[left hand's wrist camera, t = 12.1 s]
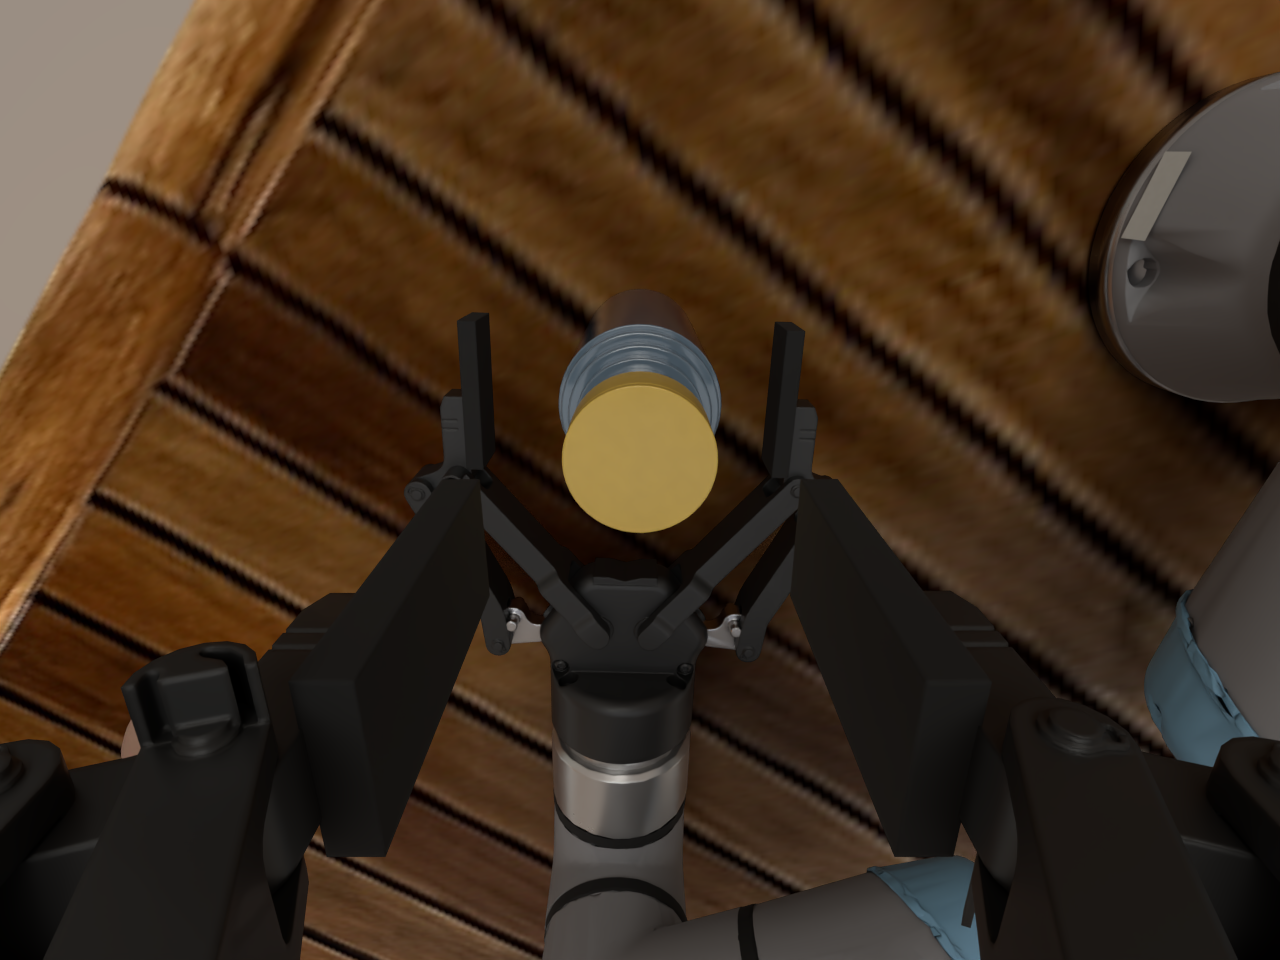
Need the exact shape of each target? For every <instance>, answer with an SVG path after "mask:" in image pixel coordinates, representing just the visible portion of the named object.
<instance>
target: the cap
mask: <svg viewBox="0 0 1280 960" xmlns="http://www.w3.org/2000/svg"><path fill="white" fill-rule="evenodd" d="M717 467H718V450H717V444H716V440H715V437H714V434H713V431H712V428H711V425H710V422H709V419H708V417H707V414H706V412H705V410H704V408H703V406H702V405H701V403H700V402H699V400H698V399H697V398H696V397H695V395H694V394H693V393H692V392H691V391H690V390H689V389H687V388H686V387H685V386H684V385H682V384H681V383H679V382H678V381H676V380H674V379H672V378H670V377H668V376H664V375H661V374H658V373H653V372H644V371H636V372H627V373H622V374H618V375H616V376H613V377H610V378H608V379H606V380H604V381H602V382H601V383H599V384H598V385H596V386H595V387H594V388H593V389H591V390H590V391H589V392H588V393H587V394H586V395H585V396H584V398H583V399H582V400H581V401H580V403H579V405H578V406H577V408H576V410H575V412H574V414H573V416H572V419H571V422H570V425H569V428H568V431H567V434H566V437H565V440H564V444H563V450H562V468H563V474H564V478H565V481H566V484H567V486H568V489H569V491H570V493H571V494H572V496H573V498H574V499H575V501H576V502H577V503H578V504H579V506H580V507H581V508H582V509H583V510H584V511H585V512H586V513H587V514H589V515H590V516H591V517H593V518H594V519H595V520H597V521H599V522H600V523H602V524H604V525H606V526H609V527H611V528H614V529H617V530H621V531H626V532H634V533H646V532H654V531H659V530H663V529H666V528H669V527H671V526H674V525H676V524H678V523H680V522H681V521H683V520H685V519H686V518H688V517H689V516H690V515H691V514H693V513H694V512H695V511H696V510H697V509H698V508H699V507H700V506H701V504H702V503H703V502H704V500H705V499H706V498H707V496H708V494H709V492H710V491H711V489H712V486H713V484H714V481H715V478H716V473H717Z"/></svg>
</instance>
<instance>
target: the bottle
mask: <svg viewBox="0 0 1280 960" xmlns="http://www.w3.org/2000/svg"><path fill="white" fill-rule="evenodd" d="M636 371H644V372H653V373H658V374H661V375H664V376H668V377H670V378H672V379H674V380H676V381H678V382H679V383H681V384H682V385H684V386H685V387H686V388H687V389H689V390H690V391H691V392H692V393H693V394H694V395H695V397H696V398H697V399H698V400H699V402H700V403H701V405H702V406H703V408H704V410H705V412H706V414H707V417H708V419H709V422H710V425H711V428H712V431H713V434H714V435H715V432H716V430H717V427H718V424H719V419H720V414H721V392H720V387H719V383H718V379H717V376H716V374H715V372H714V370H713V367H712V365H711V363H710V361H709V359H708V357H707V355H706V353H705V351H704V349H703V347H702V345H701V343H700V341H699V339H698V337H697V335H696V333H695V331H694V329H693V327H692V325H691V322H690V320H689V318H688V317H687V315H686V314H685V312H684V311H683V309H682V308H681V307H680V306H679V305H678V304H677V303H676V302H675V301H673V300H672V299H671V298H669V297H668V296H666V295H664V294H661V293H659V292H656V291H652V290H647V289H634V290H628V291H624V292H621V293H619V294H616V295H615V296H613V297H611V298H609V299H608V300H607V301H605V302H604V303H603V304H602V305H601V306H600V307H599V308H598V309H597V311H596V312H595V313H594V315H593V317H592V318H591V320H590V322H589V324H588V326H587V328H586V330H585V333H584V335H583V337H582V339H581V341H580V343H579V345H578V347H577V349H576V351H575V353H574V355H573V357H572V359H571V361H570V363H569V365H568V367H567V369H566V372H565V374H564V376H563V379H562V383H561V386H560V392H559V414H560V420H561V424H562V427H563V430H564V432H565V435H566V434H567V431H568V428H569V425H570V422H571V419H572V416H573V414H574V412H575V410H576V408H577V406H578V405H579V403H580V401H581V400H582V399H583V398H584V396H585V395H586V394H587V393H588V392H589V391H590V390H591V389H593V388H594V387H595V386H596V385H598V384H599V383H601V382H602V381H604V380H606V379H608V378H610V377H613V376H616V375H618V374H622V373H627V372H636Z"/></svg>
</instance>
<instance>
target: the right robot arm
mask: <svg viewBox="0 0 1280 960" xmlns="http://www.w3.org/2000/svg"><path fill="white" fill-rule="evenodd" d="M457 328H458V344H459V360H460V375H461V389H452V390H451V391H449V392H448V393H447V394H446V395H445V396H444V398H443V401H442V404H441V407H440V411H441V424H442V437H443V450H444V462H441V463H438V464H435V465H434V464H428V465H425V466H424V467H423V468H422V469H421V470H420V471H419V472H418V473H417V474H416V476H415V477H414V478H413V479H412V480H411V481H410V482H409V484H408V485H407V486H406V488H405V490H404V495H405V498H406V500H407V502H408V503H409V505H410V506H411V508H412V509H413V511H414V513H415V514H416V513H417V512H418V511H419V509H420V508H421V507H422V505H423V504H424V503H425V501H426V500H427V499H428V497H429V496H430V495H431V493H432V492H433V491H434V490H435V488H436V487H437V486H438V484H439V483H440V482H441V480H442V479H479V481H480V492H481V503H482V514H483V525H484V529H485V530H486V531H487V532H488V533H489V534H490V535H491V536H492V537H493V538H494V540H495V541H496V542H497V543H498V544H499V545H500V546H501V547H502V548H503V549H504V550H505V551H506V552H507V553H508V554H509V555H510V556H511V557H512V558H513V559H514V560H515V561H516V562H517V563H518V564H519V565H520V566H521V567H522V569H523V570H524V571H525V572H526V573H527V574H528V575H529V576H530V577H531V578H532V579H533V580H534V581H535V582H536V584H537V586H538V589H539V591H540V593H541V595H542V596H543V597H544V598H545V599H546V600H547V601H548V602H549V603H550V605H549V607H548V608H547V609H546V610H545V612H544V614H543V615H537V614H534V613H532V612H531V611H530V610H529V608H528V606H527V604H526V603H525V601H524V599H523V598H521V597H516V598H515V597H514V593H513V589H512V587H511V584H510V582H509V580H508V578H507V576H506V575H505V573H504V571H503V570H502V568H501V566H500V565H499V563H498V561H497V560H496V558H495V556H494V555H493V553H492V551H491V550H490V548H489V546H488V545H487V543H486V541H485V548H486V559H487V570H488V581H489V592H490V596H489V599H488V601H487V604H486V606H485V609H484V611H483V614H482V616H481V622H482V627H483V632H484V637H485V643H486V647H487V649H488V651H489V652H490V653H492V654H494V655H504V654H506V653H507V652H508V651H509V649H510V646H511V644H512V643H525V642H539V641H542V643H543V644H544V646H545V647H546V649H547V650H548V652H549V655H550V659H551V702H552V722H553V731H552V751H553V780H554V802H555V821H554V857H553V867H552V875H551V883H550V890H549V897H548V905H547V912H546V921H545V936H544V939H545V940H544V942H545V947H544V953H543V959H542V960H980V952H979V943H978V935H977V926H976V917H975V913H974V917H973V921H972V925H971V928H968V927H965V926H962V925H961V922H962V916H963V909H964V905H965V901H966V897H967V893H968V888H969V884H970V880H971V876H972V872H973V867H974V862H972V861H970V860H968V859H967V858H964V857H961V856H956V855H953V857H934V858H928V859H923V860H917V861H912V862H906V863H901V864H895V865H890V866H884V867H877V866H873V867H870V868H867V873H864V874H861V875H857V876H854V877H850V878H847V879H843V880H840V881H836V882H833V883H829V884H826V885H822V886H819V887H816V888H812V889H809V890H805V891H802V892H798V893H795V894H791V895H788V896H784V897H781V898H777V899H774V900H770V901H767V902H763V903H760V904H751V905H748V906H744V907H739V908H735V909H731V910H727V911H724V912H720V913H716V914H712V915H708V916H705V917H701V918H697V919H693V920H690V921H687V918H686V908H685V894H684V878H683V827H684V805H685V798H686V790H687V782H688V766H689V749H690V725H691V720H692V707H693V693H694V679H695V665H696V660H697V657H698V655H699V654H700V652H701V651H702V650H703V648H704V647H705V646H710V647H718V648H726V649H734V650H736V655H737V657H738V658H739V659H740V660H741V661H744V662H752V661H754V660H756V659H757V658H758V657H759V655H760V652H761V648H762V644H763V640H764V636H765V632H766V628H767V625H768V623H769V622H770V620H771V619H772V618H773V616H774V615H775V613H776V612H777V610H778V609H779V608H780V606H781V605H782V603H783V602H784V600H785V599H786V598H787V596H788V595H789V593H790V592H791V581H792V570H793V559H794V548H795V536H796V525H797V514H798V503H799V492H800V481H801V479H832V478H831V477H829V476H826V475H824V476H820V475H817V474H815V473H813V472H812V461H813V453H814V445H815V437H816V429H817V421H818V417H817V414H816V410H815V407H814V406H813V405H812V404H811V403H810V402H809V401H808V400H802V399H797V398H798V389H799V381H800V372H801V363H802V355H803V346H804V337H805V331H804V330H802V329H801V328H799V327H798V326H796V325H795V324H793V323H792V322H775V327H774V337H773V347H772V357H771V367H770V377H769V388H768V398H767V408H766V418H765V428H764V438H763V448H762V460H763V462H764V464H765V466H766V468H767V470H768V472H769V474H770V475H769V476H768V477H767V478H765V479H764V480H763V481H762V482H761V483H760V484H759V485H758V486H757V487H756V488H755V489H754V490H753V491H752V492H751V493H750V494H749V495H748V496H747V497H746V498H745V499H744V500H743V501H742V502H741V503H740V504H739V505H738V506H737V507H736V508H735V509H733V510H732V511H731V512H730V513H729V514H728V515H727V516H726V517H725V518H724V519H723V520H722V521H721V522H720V523H719V524H718V525H717V526H716V527H715V528H714V529H713V530H712V531H711V532H710V533H709V534H708V535H707V536H706V537H705V538H704V539H703V540H701V541H700V542H699V543H698V544H697V545H696V546H695V547H694V548H693V549H692V550H687V551H685V552H684V553H683V554H682V555H681V556H680V557H679V558H678V559H677V560H676V561H675V562H674V563H673V564H672V565H671V566H669V567H668V568H666V567H664V566H662V565H660V564H657V559H639V560H634V561H630V562H623V561H619V560H616V559H612V558H595V562H592V563H589V564H587V565H585V566H584V565H583V564H582V563H581V562H580V561H579V560H578V559H577V558H576V557H575V556H574V554H573V553H572V552H571V551H570V550H569V549H568V548H566V547H562V546H560V545H559V544H558V543H557V542H556V541H555V540H554V538H553V537H552V536H551V535H550V534H549V533H548V532H547V531H546V530H545V529H544V528H543V527H542V526H541V524H540V523H539V522H538V521H537V520H536V519H535V518H534V517H533V516H532V515H531V514H530V513H529V512H528V511H527V509H526V508H525V507H524V506H523V505H522V504H521V503H520V502H519V501H518V500H517V499H516V498H515V497H514V495H513V494H512V493H511V492H510V491H509V490H508V489H507V488H506V487H505V486H504V485H503V484H502V483H501V482H500V480H499V479H498V478H497V477H496V476H495V475H494V474H493V473H492V472H491V471H490V470H489V469H488V468H487V466H486V465H487V463H488V462H489V460H490V459H491V457H492V455H493V454H494V452H495V431H494V410H493V389H492V368H491V347H490V326H489V313H474V312H472V313H470V314H468V315H467V316H465V317H463V318H461V319H459V320H458V321H457ZM787 518H788V519H787ZM786 519H787V520H786ZM785 520H786V522H785V523H784V525H783V526H782V527H781V529H780V530H779V532H778V533H777V535H776V536H775V538H774V539H773V541H772V542H771V544H770V545H769V547H768V548H767V550H766V551H765V553H764V554H763V556H762V557H761V559H760V560H759V562H758V563H757V565H756V566H755V568H754V569H753V571H752V572H751V574H750V575H749V577H748V578H747V580H746V581H745V583H744V584H743V586H742V588H741V589H740V592H739V594H738V596H737V599H736V602H735V604H734V603H728V604H726V606H725V608H724V609H723V610H722V612H721V613H720V615H719V616H718V617H717V618H715V619H712V620H706V619H705V617H704V615H703V613H702V612H701V610H700V609H699V607H700V606H701V605H702V604H703V603H704V602H705V601H706V600H707V599H708V598H709V596H710V595H711V592H712V590H713V588H714V587H715V586H716V585H717V584H718V583H719V582H720V581H721V580H722V579H723V578H724V577H725V576H726V575H728V574H729V573H730V572H731V571H732V570H733V569H734V568H735V567H736V566H737V565H738V564H739V563H740V562H741V561H742V560H744V559H745V558H746V557H747V556H748V555H749V554H750V553H751V552H752V551H753V550H754V549H755V548H756V547H757V546H759V545H760V544H761V543H762V542H763V541H764V540H765V539H766V538H767V537H768V536H769V535H770V534H771V533H772V532H773V531H775V530H776V529H777V528H778V527H779V526H780V525H781V524H782V523H783V522H784V521H785Z"/></svg>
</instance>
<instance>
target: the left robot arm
mask: <svg viewBox="0 0 1280 960" xmlns="http://www.w3.org/2000/svg"><path fill="white" fill-rule="evenodd" d="M1088 289H1089V300H1090V306H1091V311H1092V316H1093V319H1094V322H1095V325H1096V328H1097V330H1098V333H1099V335H1100V337H1101V339H1102V341H1103V343H1104V344H1105V346H1106V347H1107V349H1108V351H1109V352H1110V353H1111V354H1112V356H1113V357H1114V358H1115V359H1116V361H1117V362H1118V363H1119V364H1120V365H1122V366H1123V367H1124V368H1125V369H1126V370H1127V371H1128V372H1130V373H1131V374H1132V375H1134V376H1135V377H1137V378H1139V379H1140V380H1142V381H1144V382H1146V383H1148V384H1150V385H1153V386H1155V387H1157V388H1160V389H1163V390H1166V391H1169V392H1173V393H1176V394H1179V395H1182V396H1185V397H1189V398H1192V399H1196V400H1202V401H1207V402H1220V403H1227V402H1243V401H1252V400H1261V399H1280V72H1277V73H1273V74H1269V75H1264V76H1260V77H1256V78H1252V79H1248V80H1245V81H1242V82H1240V83H1237V84H1234V85H1231V86H1229V87H1227V88H1225V89H1222V90H1220V91H1218V92H1216V93H1214V94H1212V95H1210V96H1209V97H1207V98H1205V99H1203V100H1201V101H1200V102H1198V103H1197V104H1195V105H1194V106H1192V107H1191V108H1189V109H1188V110H1186V111H1185V112H1183V113H1182V114H1181V115H1179V116H1178V117H1177V118H1176V119H1174V120H1173V121H1172V122H1170V123H1169V124H1168V125H1167V126H1166V127H1165V128H1164V129H1163V130H1162V131H1160V132H1159V133H1158V134H1157V135H1156V136H1155V137H1154V138H1153V139H1152V140H1151V141H1150V142H1149V144H1148V145H1147V146H1146V147H1145V148H1144V149H1143V150H1142V151H1141V152H1140V154H1139V155H1138V156H1137V157H1136V159H1135V160H1134V161H1133V162H1132V164H1131V165H1130V166H1129V168H1128V169H1127V171H1126V172H1125V174H1124V175H1123V177H1122V178H1121V180H1120V181H1119V183H1118V185H1117V186H1116V188H1115V190H1114V191H1113V193H1112V195H1111V197H1110V199H1109V201H1108V203H1107V205H1106V207H1105V209H1104V212H1103V214H1102V217H1101V220H1100V222H1099V225H1098V228H1097V231H1096V235H1095V238H1094V241H1093V246H1092V251H1091V256H1090V264H1089V275H1088ZM489 596H490V592H489V581H488V570H487V559H486V548H485V537H484V525H483V514H482V503H481V492H480V481H479V479H442V480H441V482H440V483H439V484H438V486H437V487H436V488H435V490H434V491H433V492H432V493H431V495H430V496H429V497H428V499H427V500H426V501H425V503H424V504H423V505H422V507H421V508H420V509H419V511H418V512H417V513H416V514H415V516H414V517H413V518H412V520H411V521H410V522H409V524H408V525H407V526H406V528H405V529H404V530H403V532H402V533H401V534H400V536H399V537H398V538H397V539H396V541H395V542H394V543H393V545H392V546H391V547H390V549H389V550H388V551H387V553H386V554H385V555H384V557H383V558H382V559H381V560H380V562H379V563H378V564H377V566H376V567H375V568H374V570H373V571H372V572H371V574H370V575H369V576H368V578H367V579H366V580H365V581H364V583H363V584H362V585H361V587H360V588H359V589H358V591H357V592H356V593H329V594H328V595H326V596H325V597H323V598H321V599H320V600H318V601H316V602H315V603H313V604H312V605H310V606H308V607H307V608H305V609H304V610H302V612H301V613H300V614H299V615H298V616H297V617H296V619H295V620H294V621H293V622H292V623H291V624H290V626H289V627H288V628H287V629H286V633H283V634H282V635H281V636H280V637H279V638H278V639H277V641H276V642H275V643H274V644H273V645H272V650H268V651H267V652H266V653H265V654H264V656H263V657H262V658H261V659H260V660H259V661H257V657H256V653H255V651H253V650H252V649H251V648H249V647H248V646H246V645H245V644H240V643H234V642H228V641H224V642H211V643H202V644H198V645H194V646H190V647H186V648H182V649H179V650H176V651H174V652H172V653H169V654H167V655H165V656H162V657H160V658H158V659H155V660H153V661H152V662H150V663H149V664H147V665H146V666H144V667H143V668H141V669H140V670H138V671H137V672H135V673H134V674H133V675H132V676H131V677H130V678H129V679H128V680H127V682H126V683H125V684H124V685H123V686H122V687H121V690H122V693H123V696H124V699H125V702H126V705H127V708H128V711H129V714H130V717H131V720H132V723H133V726H134V729H135V732H136V735H137V738H138V741H139V744H140V747H141V748H140V751H139V753H138V755H134V756H131V757H127V758H122V759H117V760H113V761H108V762H103V763H99V764H94V765H89V766H85V767H80V768H75V769H71V770H68V768H67V766H66V763H65V761H64V758H63V755H62V753H61V750H60V748H58V747H57V746H55V745H54V744H52V743H51V742H50V741H44V740H31V739H27V740H21V741H15V742H9V743H4V744H0V960H300V954H301V945H302V937H303V928H304V919H305V910H306V902H307V893H308V884H309V881H308V874H307V867H306V863H305V859H304V855H303V854H304V853H305V851H306V849H307V847H308V845H309V843H310V841H311V839H312V837H313V836H314V834H315V832H316V830H317V828H318V826H319V824H320V828H321V833H322V837H323V842H324V846H325V851H326V855H327V857H386V854H387V852H388V849H389V847H390V844H391V842H392V839H393V837H394V834H395V832H396V829H397V827H398V824H399V822H400V819H401V817H402V814H403V811H404V809H405V806H406V804H407V801H408V799H409V796H410V794H411V791H412V789H413V786H414V784H415V781H416V779H417V776H418V774H419V771H420V769H421V766H422V764H423V761H424V759H425V756H426V754H427V751H428V749H429V746H430V744H431V741H432V739H433V736H434V734H435V731H436V729H437V726H438V724H439V721H440V719H441V716H442V714H443V711H444V709H445V706H446V704H447V701H448V699H449V696H450V694H451V691H452V689H453V686H454V684H455V681H456V679H457V676H458V674H459V671H460V669H461V666H462V664H463V661H464V659H465V656H466V654H467V651H468V649H469V646H470V644H471V641H472V639H473V636H474V634H475V631H476V629H477V626H478V624H479V621H480V619H481V616H482V614H483V611H484V609H485V606H486V604H487V601H488V599H489ZM790 596H791V599H792V601H793V604H794V606H795V609H796V611H797V614H798V616H799V619H800V621H801V624H802V626H803V629H804V631H805V634H806V636H807V639H808V641H809V644H810V646H811V649H812V651H813V654H814V656H815V659H816V661H817V664H818V666H819V669H820V671H821V674H822V676H823V679H824V681H825V684H826V686H827V689H828V691H829V694H830V696H831V699H832V701H833V704H834V706H835V709H836V711H837V714H838V716H839V719H840V721H841V724H842V726H843V729H844V731H845V734H846V736H847V739H848V741H849V744H850V746H851V749H852V751H853V754H854V756H855V759H856V761H857V764H858V766H859V769H860V771H861V774H862V776H863V779H864V781H865V784H866V786H867V789H868V791H869V794H870V796H871V799H872V801H873V804H874V806H875V809H876V811H877V814H878V817H879V819H880V822H881V824H882V827H883V829H884V832H885V834H886V837H887V839H888V842H889V844H890V847H891V849H892V852H893V854H894V857H953V855H954V851H955V846H956V842H957V837H958V833H959V828H960V824H961V823H962V825H963V826H964V828H965V830H966V832H967V834H968V836H969V838H970V840H971V841H972V843H973V845H974V847H975V849H976V851H977V855H976V859H975V863H974V867H973V872H972V876H971V880H970V884H969V888H968V893H967V897H966V901H965V905H964V909H963V916H962V922H961V925H962V926H965V927H968V928H971V925H972V921H973V917H974V913H975V917H976V926H977V935H978V943H979V952H980V960H1280V461H1279V462H1278V464H1277V465H1276V467H1275V468H1274V470H1273V471H1272V473H1271V474H1270V476H1269V477H1268V479H1267V480H1266V482H1265V483H1264V485H1263V486H1262V488H1261V489H1260V491H1259V492H1258V494H1257V495H1256V497H1255V498H1254V500H1253V501H1252V503H1251V504H1250V506H1249V507H1248V509H1247V510H1246V512H1245V513H1244V515H1243V516H1242V518H1241V519H1240V521H1239V522H1238V524H1237V525H1236V527H1235V528H1234V530H1233V531H1232V533H1231V534H1230V536H1229V537H1228V539H1227V540H1226V542H1225V543H1224V544H1223V546H1222V547H1221V549H1220V550H1219V552H1218V553H1217V555H1216V556H1215V558H1214V559H1213V561H1212V562H1211V564H1210V565H1209V567H1208V568H1207V570H1206V571H1205V573H1204V574H1203V576H1202V577H1201V579H1200V580H1199V582H1198V583H1197V585H1196V586H1195V588H1194V589H1192V590H1187V591H1185V593H1184V594H1183V595H1182V596H1181V597H1180V599H1179V600H1178V602H1177V606H1176V618H1175V620H1174V621H1173V623H1172V625H1171V627H1170V628H1169V630H1168V632H1167V633H1166V635H1165V637H1164V639H1163V640H1162V642H1161V644H1160V645H1159V647H1158V649H1157V651H1156V652H1155V654H1154V656H1153V657H1152V659H1151V661H1150V663H1149V665H1148V667H1147V670H1146V674H1145V680H1144V692H1145V699H1146V703H1147V707H1148V709H1149V711H1150V713H1151V717H1152V720H1153V721H1154V723H1155V724H1156V726H1157V727H1158V729H1159V730H1160V732H1161V733H1162V737H1163V739H1164V741H1165V743H1166V745H1167V746H1168V748H1169V749H1170V751H1171V752H1172V754H1173V755H1174V756H1175V758H1176V759H1172V758H1168V757H1163V756H1158V755H1153V754H1150V753H1146V752H1142V751H1141V749H1140V747H1139V746H1138V745H1137V743H1136V742H1135V741H1134V739H1133V738H1132V737H1131V735H1130V734H1129V733H1128V731H1126V730H1125V729H1124V728H1122V727H1121V726H1120V725H1118V724H1117V723H1116V722H1114V721H1113V720H1112V719H1111V718H1109V717H1108V716H1106V715H1103V714H1101V713H1099V712H1097V711H1095V710H1093V709H1091V708H1089V707H1087V706H1085V705H1082V704H1078V703H1075V702H1071V701H1068V700H1064V699H1061V698H1056V697H1055V696H1054V695H1053V694H1052V693H1051V692H1050V690H1049V689H1048V688H1047V687H1046V686H1045V685H1044V684H1043V682H1042V681H1041V680H1040V679H1039V678H1038V677H1037V676H1036V674H1035V673H1034V672H1033V671H1032V670H1031V669H1030V667H1029V666H1028V665H1027V664H1026V663H1025V662H1024V661H1023V659H1022V658H1021V657H1020V656H1019V655H1018V654H1017V653H1016V651H1015V650H1014V649H1013V648H1012V647H1008V642H1007V641H1006V640H1005V639H1004V638H1003V636H1002V635H1001V634H1000V633H999V632H998V631H995V630H994V626H993V625H992V624H991V623H990V621H989V620H988V619H987V618H986V617H985V616H984V615H983V613H982V612H981V611H980V610H979V609H978V608H977V607H976V606H974V605H972V604H971V603H969V602H968V601H966V600H964V599H963V598H961V597H959V596H958V595H956V594H955V593H953V592H951V591H922V589H921V588H920V587H919V585H918V584H917V583H916V581H915V580H914V579H913V578H912V576H911V575H910V574H909V572H908V571H907V570H906V568H905V567H904V566H903V564H902V563H901V562H900V560H899V559H898V558H897V557H896V555H895V554H894V553H893V551H892V550H891V549H890V547H889V546H888V545H887V543H886V542H885V541H884V539H883V538H882V537H881V536H880V534H879V533H878V532H877V530H876V529H875V528H874V526H873V525H872V524H871V522H870V521H869V520H868V518H867V517H866V516H865V514H864V513H863V512H862V511H861V509H860V508H859V507H858V505H857V504H856V503H855V501H854V500H853V499H852V497H851V496H850V495H849V493H848V492H847V491H846V490H845V488H844V487H843V486H842V484H841V483H840V482H839V480H838V479H801V481H800V492H799V503H798V514H797V525H796V536H795V548H794V559H793V570H792V581H791V592H790Z"/></svg>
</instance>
